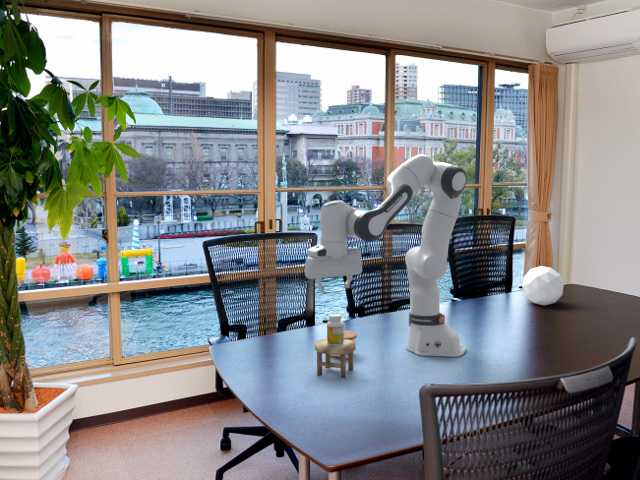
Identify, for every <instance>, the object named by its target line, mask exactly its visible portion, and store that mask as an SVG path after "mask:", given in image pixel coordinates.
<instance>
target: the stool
mask: <svg viewBox="0 0 640 480" xmlns="http://www.w3.org/2000/svg"><path fill="white" fill-rule="evenodd" d="M356 345H357V343H356V344H355V342H353V341H351V340H348V339H344V344H343V345H341V346H330V345H328V344H327V338H323V339H320V340H318V341H316V342H314V350H315V351H316V376H317V377H321V376H323V367H325V368H326V369H330V368H334V369H335V368H336V369H340V379H342V380H343V379H347V369H348V371H351V372H352V371H354V351H356V348H357V347H356ZM346 354H348V356H346ZM323 355H325V356H324V357H325V358H324V359H325V361H323ZM331 359H332V360H339V361H340V363H339V362H338V363H337V362H331ZM346 361H347V362H346ZM346 366H347V367H346Z"/></svg>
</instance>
